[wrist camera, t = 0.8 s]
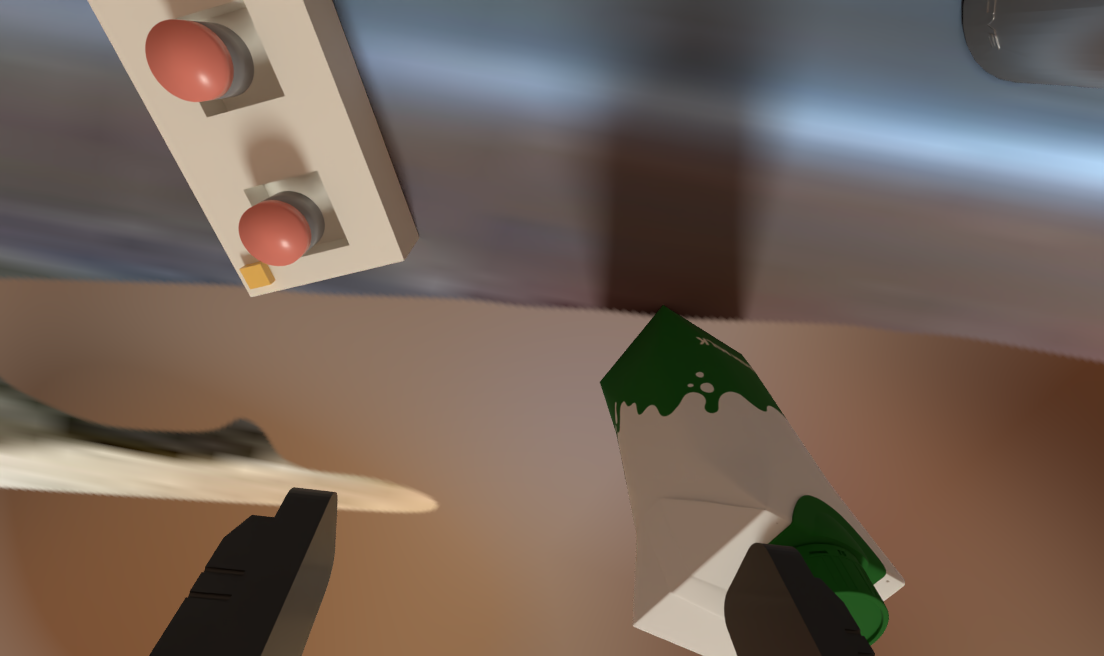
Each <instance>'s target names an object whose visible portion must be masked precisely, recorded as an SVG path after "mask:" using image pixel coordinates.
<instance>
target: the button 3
mask: <svg viewBox="0 0 1104 656" xmlns="http://www.w3.org/2000/svg"><path fill="white" fill-rule="evenodd" d="M238 228H239V236H240V239H241V241H242V243H243V245H244V247H245V248H246V249H247V251H248V252H249V253H250V254H251V255H252V256H253V257H255V258H256V259H258V260H259V261H261V262H263V263H265V264H268V265H272V266H286V265H289V264H292V263H294V262H295V261H297V260H298V259H299V258H300V257H301V256H302V255H304V254H305V253H306V252H307V251H308V250H309V249H311V248H312V247H313V246H314V245H315V244H316V243H317V242H319V241H320V239H321V238H322V236H323V233H324V229H325V222H324V217H323V215H322V212H321V210H320V209H319V207H318V206H317V205H316V204H315V203H314V202H313V201H312V200H311V199H310V198H308V197H307V196H305V195H303V194H301V193H298V192H294V191H282V192H279V193H277V194H275V195H273V196H271V197H269V198H267V199H265V200H263V201H262V202H260V203H258V204H256V205H254V206H252V207H251V208H249V209H247V210H246V211H245V212H244V213H243V215H242V216H241V218H240V221H239V227H238Z"/></svg>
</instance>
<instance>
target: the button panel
mask: <svg viewBox="0 0 1104 656" xmlns="http://www.w3.org/2000/svg"><path fill="white" fill-rule="evenodd" d="M88 2H89V4H90V6H91V7H92V9H93V11H94V13H95V15H96V16H97V18H98V20H99V22H100V24H101V26H102V27H103V29H104V31H105V33H106V35H107V36H108V38H109V40H110V42H111V44H112V46H113V47H114V49H115V51H116V53H117V55H118V56H119V58H120V60H121V62H122V64H123V66H124V67H125V69H126V71H127V73H128V75H129V76H130V78H131V80H132V82H133V84H134V86H135V87H136V89H137V91H138V93H139V95H140V96H141V98H142V100H143V102H144V104H145V106H146V107H147V109H148V111H149V113H150V115H151V117H152V118H153V120H154V122H155V124H156V126H157V127H158V129H159V131H160V133H161V135H162V137H163V138H164V140H165V142H166V144H167V146H168V147H169V149H170V151H171V153H172V155H173V157H174V158H175V160H176V162H177V164H178V166H179V167H180V169H181V171H182V173H183V175H184V177H185V178H186V180H187V182H188V184H189V186H190V187H191V189H192V191H193V193H194V195H195V197H196V198H197V200H198V202H199V204H200V206H201V207H202V209H203V211H204V213H205V215H206V217H207V218H208V220H209V222H210V224H211V226H212V228H213V229H214V231H215V233H216V235H217V237H218V238H219V240H220V242H221V244H222V246H223V248H224V249H225V251H226V253H227V255H228V257H229V258H230V260H231V262H232V264H233V266H234V268H235V269H236V271H237V273H238V275H239V277H240V278H241V280H242V282H243V284H244V286H245V288H246V289H247V291H248V293H249V295H250V297H254V296H258V295H262V294H266V293H271V292H275V291H279V290H283V289H287V288H292V287H296V286H300V285H304V284H308V283H313V282H317V281H321V280H325V279H329V278H334V277H338V276H342V275H346V274H350V273H355V272H359V271H363V270H367V269H371V268H376V267H380V266H384V265H388V264H392V263H396V262H401V261H404V260H405V259H406V257H407V256H408V254H409V253H410V251H411V250H412V248H413V247H414V245H415V243H416V242H417V240H418V239H419V235H418V233H417V230H416V227H415V224H414V222H413V219H412V216H411V213H410V211H409V208H408V205H407V203H406V200H405V197H404V194H403V192H402V189H401V186H400V184H399V181H398V178H397V175H396V173H395V170H394V167H393V165H392V162H391V159H390V156H389V154H388V151H387V148H386V146H385V143H384V140H383V137H382V135H381V132H380V129H379V126H378V124H377V121H376V118H375V116H374V113H373V110H372V107H371V105H370V102H369V99H368V97H367V94H366V91H365V88H364V86H363V83H362V80H361V78H360V75H359V72H358V69H357V67H356V64H355V61H354V59H353V56H352V53H351V50H350V48H349V45H348V42H347V39H346V37H345V34H344V31H343V29H342V26H341V23H340V20H339V18H338V15H337V12H336V10H335V7H334V4H333V1H332V0H88ZM169 19H177V20H189V21H201V22H212V23H218V24H221V25H224V26H226V27H228V28H229V29H231V30H232V31H234V32H235V33H236V34H237V35H238V36H239V37H240V38H241V39H242V40H243V41H244V42H245V44H246V46H247V47H248V49H249V51H250V53H251V56H252V59H253V63H254V76H253V80H252V83H251V85H250V86H249V88H248V89H247V90H246V91H245V92H244V93H242V94H241V95H238V96H235V97H229V98H223V99H216V100H209V101H203V102H190V101H185V100H182V99H180V98H178V97H176V96H174V95H172V94H171V93H170V92H168V91H167V90H166V89H165V88H164V87H162V86H161V84H160V83H159V82H158V81H157V80H156V78H155V77H154V75H153V74H152V72H151V70H150V68H149V65H148V62H147V59H146V53H145V44H146V39H147V36H148V34H149V32H150V30H151V29H152V28H153V27H154V26H155V25H156V24H158V23H159V22H161V21H164V20H169ZM282 191H294V192H298V193H301V194H303V195H305V196H307V197H308V198H310V199H311V200H312V201H313V202H314V203H315V204H316V205H317V206H318V207H319V209H320V210H321V212H322V215H323V217H324V222H325V229H324V233H323V236H322V238H321V239H320V241H319V242H317V243H316V244H315V245H314V246H313V247H312V248H311V249H309V250H308V251H307V252H306V253H305V254H304V255H302V256H301V257H300V258H299V259H298V260H297V261H295V262H294V263H292V264H289V265H286V266H272V265H268V264H265V263H263V262H261V261H259V260H258V259H256V258H255V257H253V256H252V255H251V254H250V253H249V252H248V251H247V249H246V248H245V247H244V245H243V243H242V241H241V239H240V236H239V228H238V227H239V221H240V218H241V216H242V215H243V213H244V212H245V211H246V210H247V209H249V208H251V207H252V206H254V205H256V204H258V203H260V202H262V201H263V200H265V199H267V198H269V197H271V196H273V195H275V194H277V193H279V192H282Z"/></svg>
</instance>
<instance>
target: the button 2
mask: <svg viewBox="0 0 1104 656" xmlns="http://www.w3.org/2000/svg"><path fill="white" fill-rule="evenodd" d="M145 53H146V59H147V62H148V65H149V68H150V70H151V72H152V74H153V75H154V77H155V78H156V80H157V81H158V82H159V83H160V84H161V86H162V87H164V88H165V89H166V90H167V91H168V92H170V93H171V94H172V95H174V96H176V97H178V98H180V99H182V100H185V101H190V102H203V101H209V100H216V99H223V98H229V97H235V96H238V95H241V94H242V93H244V92H245V91H246V90H247V89H248V88H249V86H250V85H251V83H252V80H253V76H254V63H253V59H252V56H251V53H250V51H249V49H248V47H247V46H246V44H245V42H244V41H243V40H242V39H241V38H240V37H239V36H238V35H237V34H236V33H235V32H234V31H232V30H231V29H229V28H228V27H226V26H224V25H221V24H218V23H212V22H201V21H189V20H177V19H169V20H164V21H161V22H159V23H158V24H156V25H155V26H154V27H153V28H152V29H151V30H150V32H149V34H148V36H147V39H146V44H145Z"/></svg>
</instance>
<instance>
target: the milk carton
mask: <svg viewBox="0 0 1104 656" xmlns="http://www.w3.org/2000/svg"><path fill="white" fill-rule="evenodd" d="M600 384H601V386H602V390H603V393H604V396H605V399H606V402H607V406H608V409H609V412H610V415H611V418H612V421H613V425H614V428H615V431H616V434H617V439H618V444H619V449H620V454H621V459H622V464H623V469H624V474H625V479H626V484H627V489H628V494H629V500H630V505H631V509H632V515H633V520H634V525H635V530H636V564H635V588H634V611H633V626H634V627H636V628H638V629H641V630H643V631H646V632H648V633H650V634H653V635H655V636H658V637H660V638H663V639H665V640H668V641H670V642H672V643H674V644H677V645H679V646H682V647H684V648H686V649H689V650H691V651H694V652H696V653H698V654H701V655H703V656H737V654H736V651H735V649H734V646H733V643H732V641H731V638H730V635H729V632H728V630H727V627H726V623H725V617H724V601H725V596H726V593H727V591H728V589H729V587H730V585H731V583H732V581H733V579H734V577H735V575H736V573H737V571H738V569H739V567H740V565H741V563H742V561H743V559H744V557H745V555H746V553H747V551H748V549H749V547H750V546H751V545H752V544H754V543H764V544H773V545H782V546H790V547H794V548H795V549H797V550H798V551H799V552H800V554H801V555H802V557H803V559H804V560H805V562H806V564H807V566H808V567H809V569H810V571H811V573H812V574H813V576H814V577H815V578H820V579H821V580H822V581H823V582H824V583H825V584H826V585H827V586H828V587H829V588H830V589H831V590H832V591H833V592H834V593H835V594H836V595H837V596H838V597H839V598H840V599H841V600H842V601H843V602H844V604H845V605H846V607H847V608H848V610H849V612H850V613H851V615H852V617H853V618H854V620H855V622H856V623H857V625H858V627H859V628H860V630H861V631H860V633H861V635H862V636H865V638H866V640H867V641H868V643H869V645H870V646H871V645H872V644H873V643H874V642H875V641H877V640H878V639H879V638H880V636H881V635H882V634H883V633H884V631H885V629H886V627H887V624H888V620H889V614H888V610H887V608H886V606H885V604H884V602H883V601H884V600H886V599H887V598H888V597H890V596H891V595H893V594H894V593H895V592H896V591H898V590H899V589H900V588H902V587H903V586H904V585H905V581H904V578H903V577H902V576H901V575H900V573H899V572H898V571H897V570H896V568H895V567H894V566H893V564H892V563H891V562H890V561H889V559H888V558H887V557H886V556H885V554H884V553H883V552H882V550H881V549H880V548H879V547H878V545H877V544H876V543H875V541H874V540H873V539H872V538H871V536H870V535H869V534H868V532H867V531H866V530H865V529H864V527H863V526H862V525H861V523H860V522H859V521H858V520H857V518H856V517H855V516H854V514H853V513H852V512H851V511H850V509H849V508H848V507H847V505H846V504H845V503H844V501H843V500H842V499H841V497H840V496H839V495H838V494H837V492H836V491H835V490H834V488H833V487H832V486H831V484H830V483H829V482H828V480H827V479H826V477H825V476H824V475H823V473H822V472H821V470H820V469H819V467H818V466H817V464H816V463H815V461H814V460H813V458H812V457H811V455H810V454H809V452H808V451H807V449H806V448H805V446H804V445H803V443H802V442H801V440H800V439H799V437H798V436H797V434H796V433H795V431H794V430H793V428H792V427H791V425H790V424H789V422H788V421H787V419H786V418H785V416H784V415H783V413H782V412H781V410H780V409H779V407H778V406H777V404H776V403H775V401H774V400H773V398H772V397H771V395H770V394H769V392H768V391H767V389H766V388H765V386H764V385H763V383H762V382H761V380H760V379H759V377H758V376H757V374H756V373H755V371H754V370H753V369H752V367H751V366H750V365H749V363H748V362H747V361H746V360H745V358H744V357H743V356H742V354H740V353H738V352H737V351H735V350H734V349H732V348H731V347H729V346H727V345H726V344H724V343H723V342H721V341H719V340H718V339H716V338H715V337H713V336H711V335H710V334H708V333H707V332H705V331H704V330H702V329H700V328H699V327H697V326H696V325H694V324H692V323H691V322H689V321H688V320H686V319H684V318H683V317H681V316H680V315H678V314H677V313H675V312H673V311H672V310H670V309H669V308H667V307H665V306H664V305H663V306H662V307H661V308H660V309H659V311H658V312H657V313H656V314H655V316H654V317H653V318H652V319H651V320H650V322H649V323H648V324H647V325H646V326H645V328H644V329H643V330H642V332H641V333H640V334H639V335H638V336H637V338H636V339H635V340H634V341H633V343H632V344H631V345H630V346H629V347H628V348H627V350H626V351H625V352H624V353H623V355H622V356H621V357H620V358H619V359H618V361H617V362H616V363H615V364H614V366H613V367H612V368H611V369H610V370H609V372H608V373H607V374H606V375H605V377H604V378H603V379H602V380H601V381H600Z"/></svg>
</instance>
